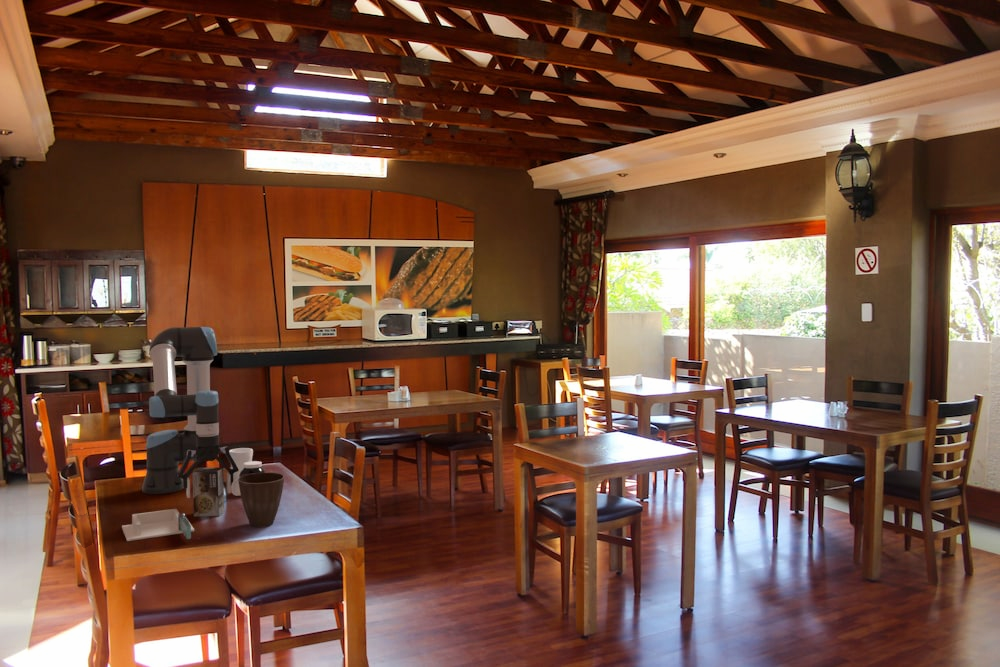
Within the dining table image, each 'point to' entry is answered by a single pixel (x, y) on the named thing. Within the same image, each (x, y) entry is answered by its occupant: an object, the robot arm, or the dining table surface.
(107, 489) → the dining table surface
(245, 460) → the foam cup
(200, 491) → the coffee box
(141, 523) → the white shallow tray
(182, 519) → the ball knob lever
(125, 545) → the dining table surface
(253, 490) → the plant pot
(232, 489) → the spread jar
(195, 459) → the robot arm
